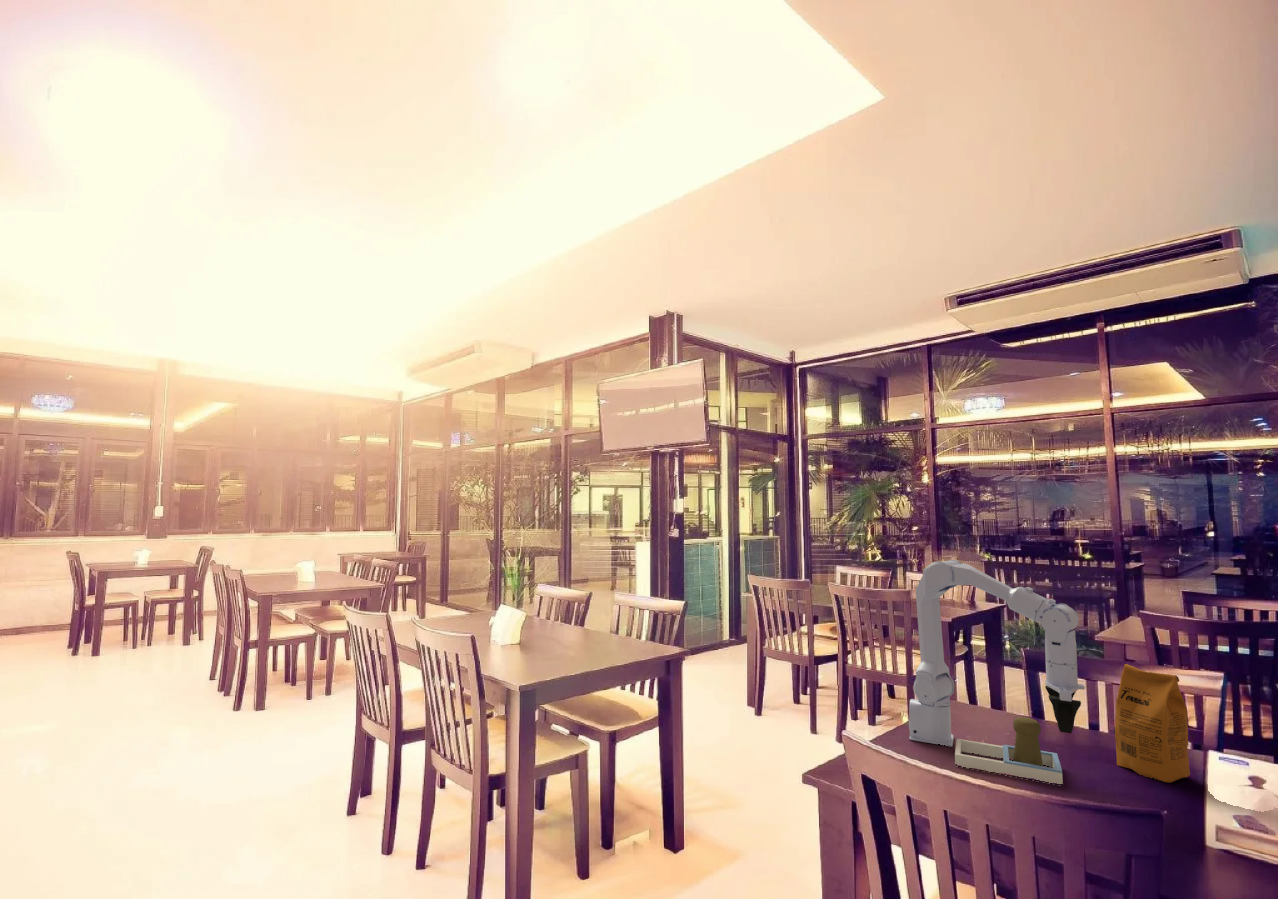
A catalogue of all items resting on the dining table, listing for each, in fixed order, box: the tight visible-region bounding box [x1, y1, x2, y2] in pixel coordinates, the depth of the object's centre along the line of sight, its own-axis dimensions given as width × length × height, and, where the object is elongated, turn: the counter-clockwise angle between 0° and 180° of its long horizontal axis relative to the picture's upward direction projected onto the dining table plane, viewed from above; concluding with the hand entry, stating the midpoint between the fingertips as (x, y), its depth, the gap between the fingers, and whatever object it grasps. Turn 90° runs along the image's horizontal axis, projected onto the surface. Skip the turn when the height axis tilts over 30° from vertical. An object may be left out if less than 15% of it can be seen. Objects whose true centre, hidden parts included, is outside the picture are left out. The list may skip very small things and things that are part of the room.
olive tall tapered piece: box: [1012, 716, 1043, 766], centre depth 141 cm, size 6×6×11 cm
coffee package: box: [1114, 663, 1191, 783], centre depth 142 cm, size 10×12×22 cm
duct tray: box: [954, 738, 1064, 785], centre depth 143 cm, size 20×11×3 cm, turn 62°
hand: (1063, 726), depth 138 cm, fingers open, 7 cm apart
